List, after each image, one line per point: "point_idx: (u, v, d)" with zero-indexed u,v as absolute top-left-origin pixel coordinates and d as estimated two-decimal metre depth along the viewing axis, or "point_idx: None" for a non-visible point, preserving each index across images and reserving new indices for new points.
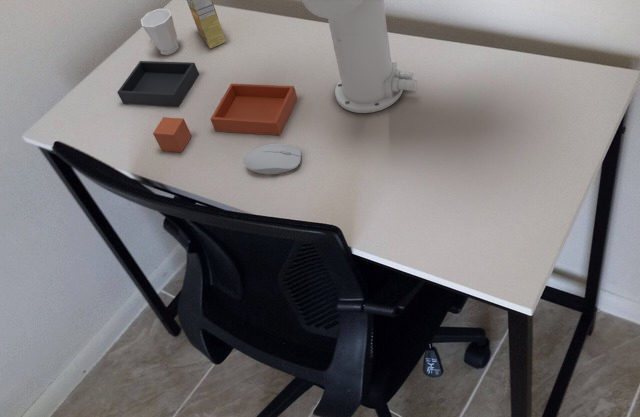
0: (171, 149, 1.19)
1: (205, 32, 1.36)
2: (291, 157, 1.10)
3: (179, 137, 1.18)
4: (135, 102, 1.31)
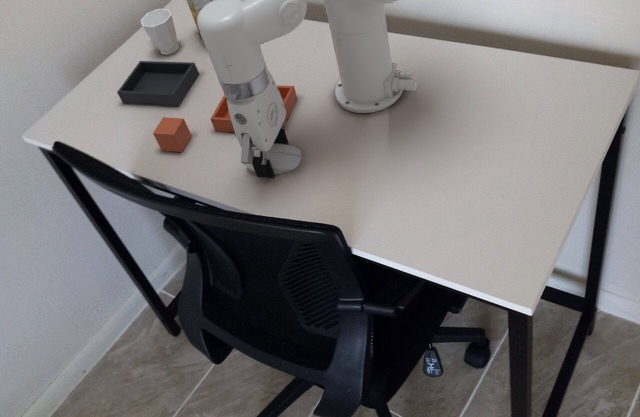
0: (171, 149, 1.19)
1: None
2: (291, 157, 1.10)
3: (179, 137, 1.18)
4: (135, 102, 1.31)
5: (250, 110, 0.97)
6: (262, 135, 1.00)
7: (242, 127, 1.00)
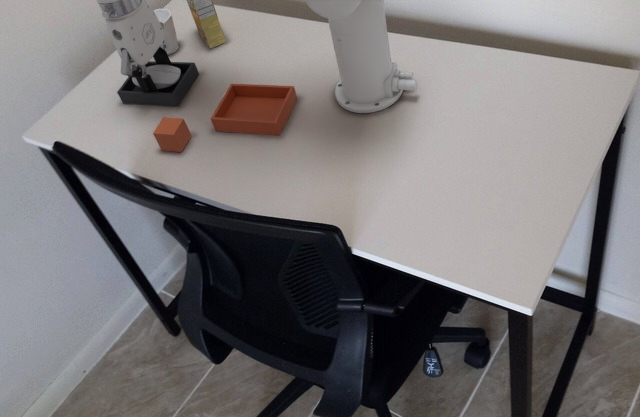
0: (171, 149, 1.19)
1: (205, 32, 1.36)
2: (171, 74, 1.29)
3: (179, 137, 1.18)
4: (135, 102, 1.31)
5: (124, 26, 1.17)
6: (137, 49, 1.20)
7: (120, 42, 1.19)
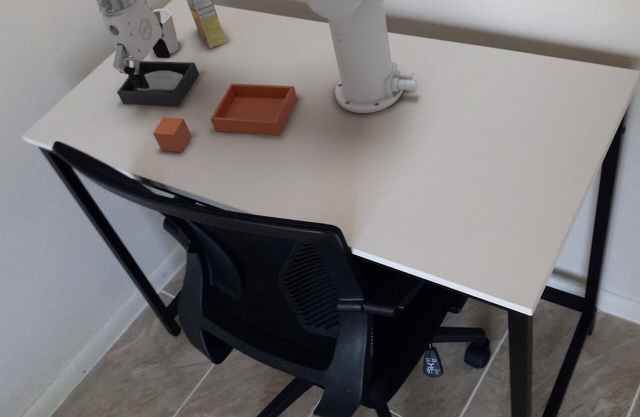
0: (171, 149, 1.19)
1: (205, 32, 1.36)
2: (174, 80, 1.30)
3: (179, 137, 1.18)
4: (135, 102, 1.31)
5: (121, 22, 1.16)
6: (134, 45, 1.19)
7: (116, 38, 1.19)
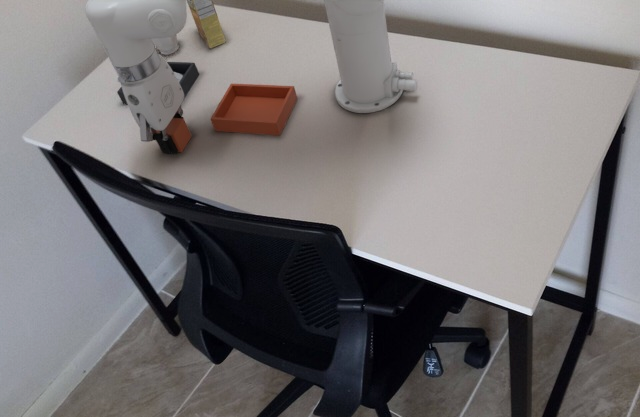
0: None
1: (205, 32, 1.36)
2: None
3: (179, 138, 1.18)
4: None
5: (141, 92, 1.06)
6: (155, 115, 1.09)
7: (136, 107, 1.08)
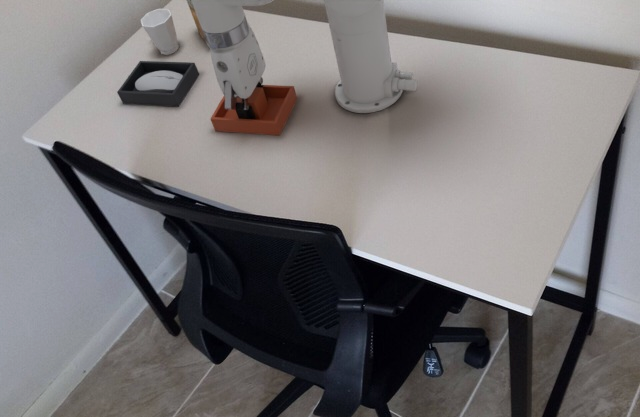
0: None
1: None
2: (174, 80, 1.30)
3: (259, 106, 1.18)
4: (135, 102, 1.31)
5: (231, 58, 1.07)
6: (242, 82, 1.10)
7: (224, 74, 1.09)
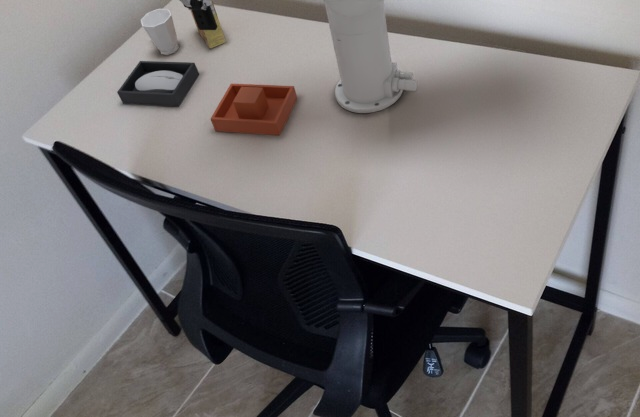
0: (250, 118, 1.20)
1: (205, 32, 1.36)
2: (174, 80, 1.30)
3: (259, 106, 1.18)
4: (135, 102, 1.31)
5: None
6: None
7: None
